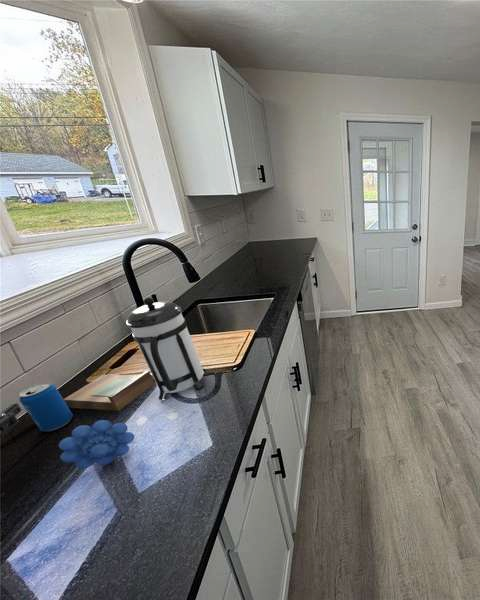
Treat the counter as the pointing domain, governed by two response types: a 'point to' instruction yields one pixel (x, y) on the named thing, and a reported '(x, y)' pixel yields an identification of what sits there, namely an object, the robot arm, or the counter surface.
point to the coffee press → (166, 346)
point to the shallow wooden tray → (110, 392)
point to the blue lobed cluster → (96, 444)
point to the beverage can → (46, 406)
